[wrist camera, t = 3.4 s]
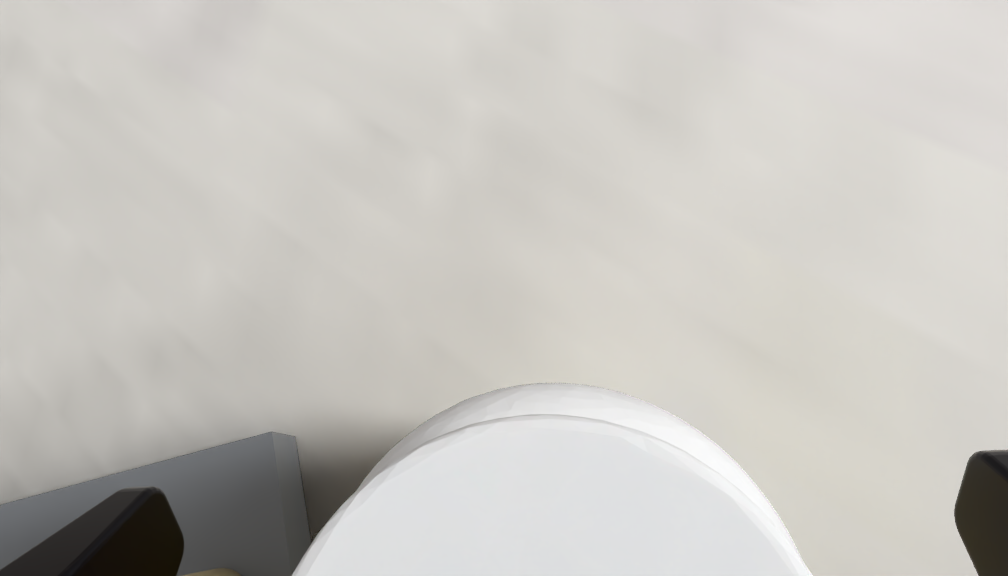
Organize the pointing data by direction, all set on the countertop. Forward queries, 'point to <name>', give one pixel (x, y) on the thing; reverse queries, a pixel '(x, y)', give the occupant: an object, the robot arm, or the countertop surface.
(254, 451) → the plate
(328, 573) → the supplement bottle
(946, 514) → the countertop surface
